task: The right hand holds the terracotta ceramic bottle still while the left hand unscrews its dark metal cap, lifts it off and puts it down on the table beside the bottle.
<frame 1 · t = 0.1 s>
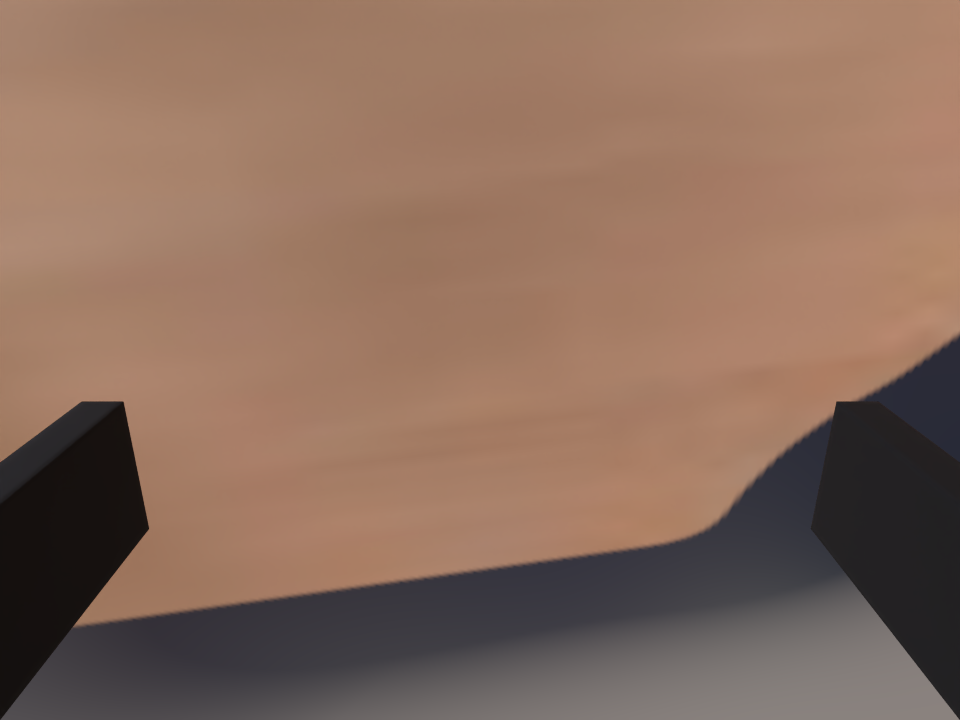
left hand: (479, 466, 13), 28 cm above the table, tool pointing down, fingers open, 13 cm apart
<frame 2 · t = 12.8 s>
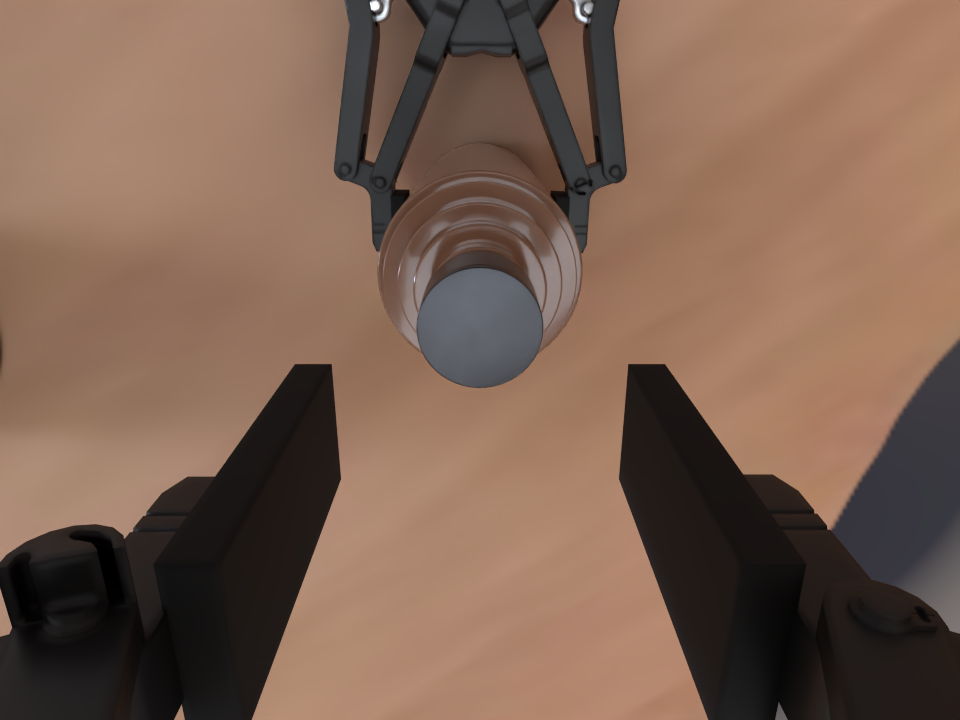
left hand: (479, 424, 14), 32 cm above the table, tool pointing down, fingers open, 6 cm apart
bottle: (479, 208, 44), on the table, touching right hand
cap: (479, 326, 21), point 25 cm above the table, screwed on, not yet turned
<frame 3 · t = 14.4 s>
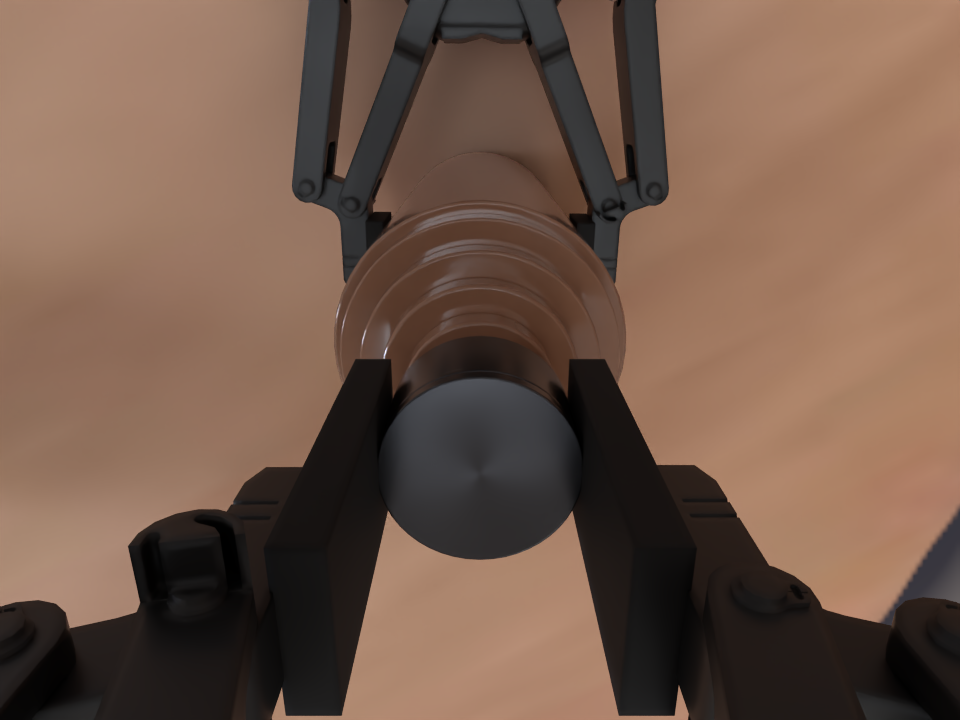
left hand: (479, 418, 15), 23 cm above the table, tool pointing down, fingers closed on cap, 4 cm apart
bottle: (480, 230, 36), on the table, touching right hand
cap: (480, 465, 13), point 25 cm above the table, screwed on, not yet turned, touching left hand
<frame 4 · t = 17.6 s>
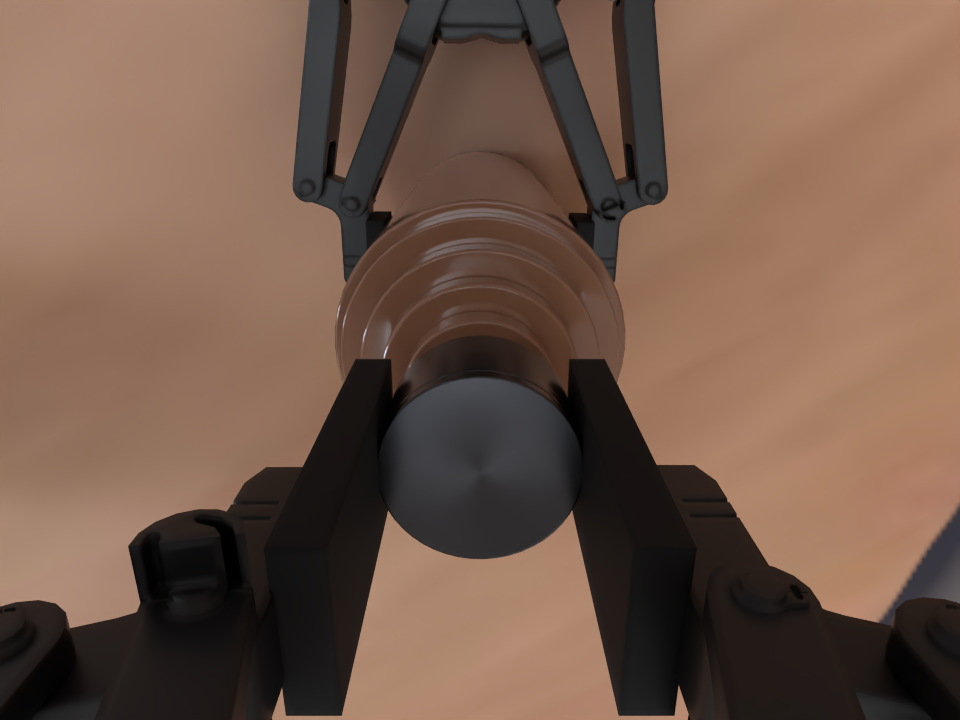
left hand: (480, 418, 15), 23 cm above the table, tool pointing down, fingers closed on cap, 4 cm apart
bottle: (479, 230, 37), on the table, touching right hand
cap: (480, 464, 13), point 25 cm above the table, turned 93° so far, risen 0.1 cm, still on its thread, touching left hand
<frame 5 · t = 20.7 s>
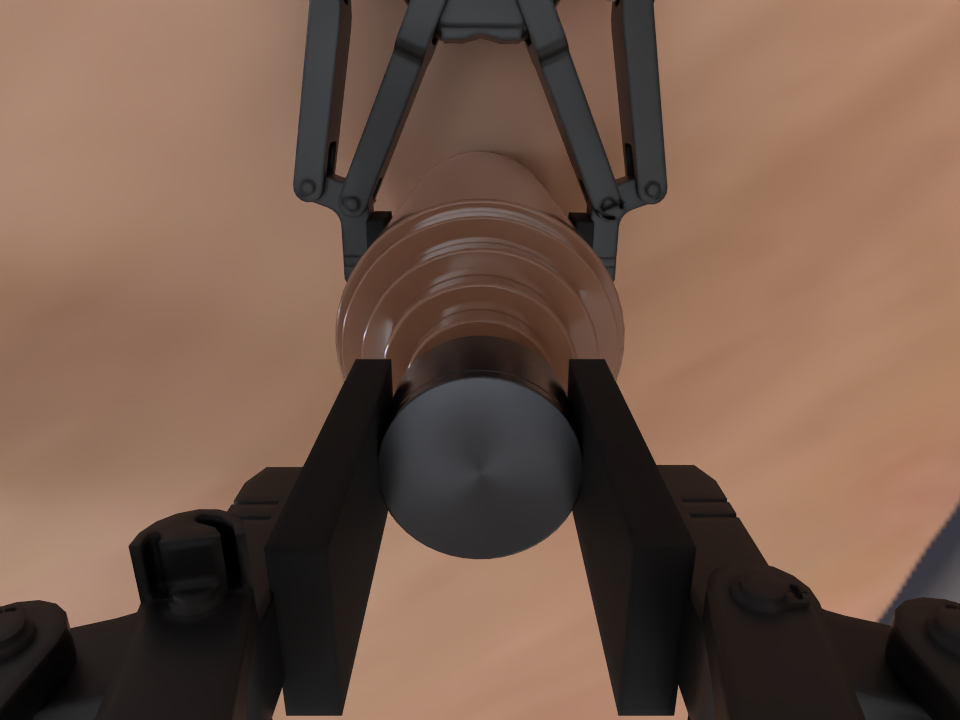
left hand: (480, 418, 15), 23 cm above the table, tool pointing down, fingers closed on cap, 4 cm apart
bottle: (479, 229, 37), on the table, touching right hand
cap: (480, 465, 13), point 25 cm above the table, turned 186° so far, risen 0.2 cm, still on its thread, touching left hand
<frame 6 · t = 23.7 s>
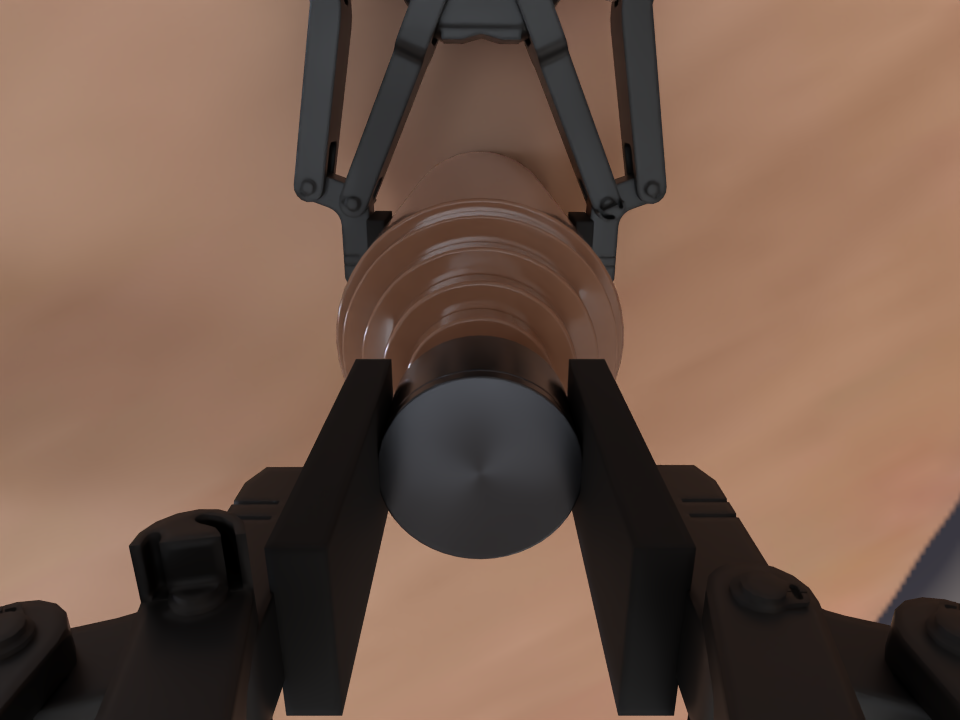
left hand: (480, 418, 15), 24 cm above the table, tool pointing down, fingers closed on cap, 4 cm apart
bottle: (479, 229, 37), on the table, touching right hand
cap: (480, 464, 13), point 26 cm above the table, turned 279° so far, risen 0.3 cm, still on its thread, touching left hand
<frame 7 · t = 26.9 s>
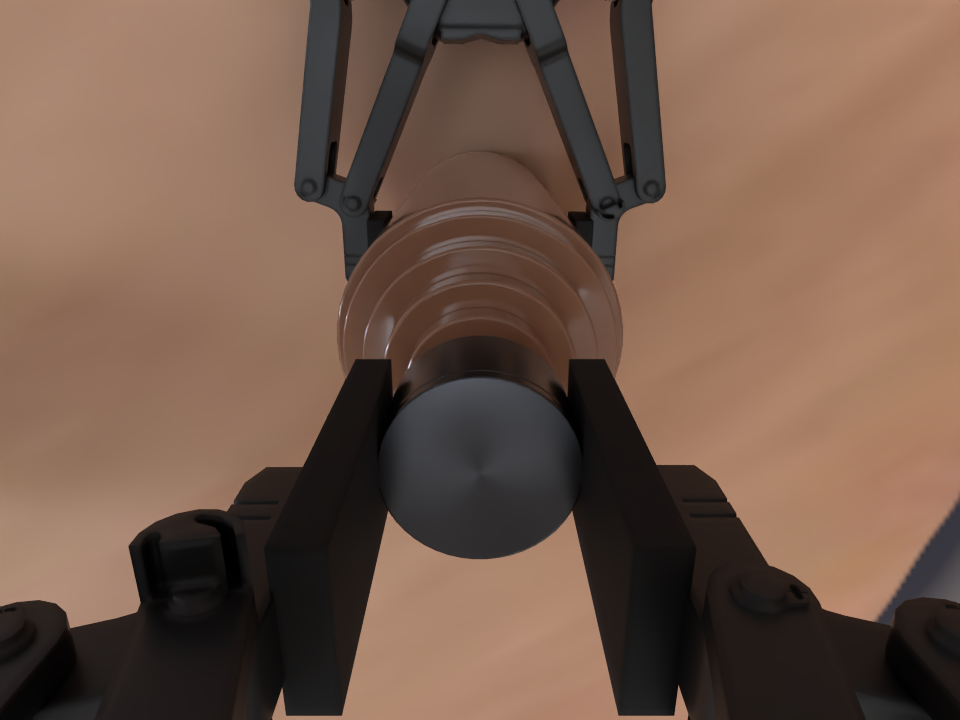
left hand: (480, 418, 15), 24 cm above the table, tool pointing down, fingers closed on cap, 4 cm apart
bottle: (479, 229, 37), on the table, touching right hand
cap: (480, 465, 13), point 26 cm above the table, turned 372° so far, risen 0.4 cm, still on its thread, touching left hand
when the left hand's fingers open (1 cm above the table, at t = 33.2 s): cap drops 2 cm, point 2 cm above the table.
when the right hand's fingers open (7 cm above the table, at t = 34.5 s): bottle stays where it is, on the table.
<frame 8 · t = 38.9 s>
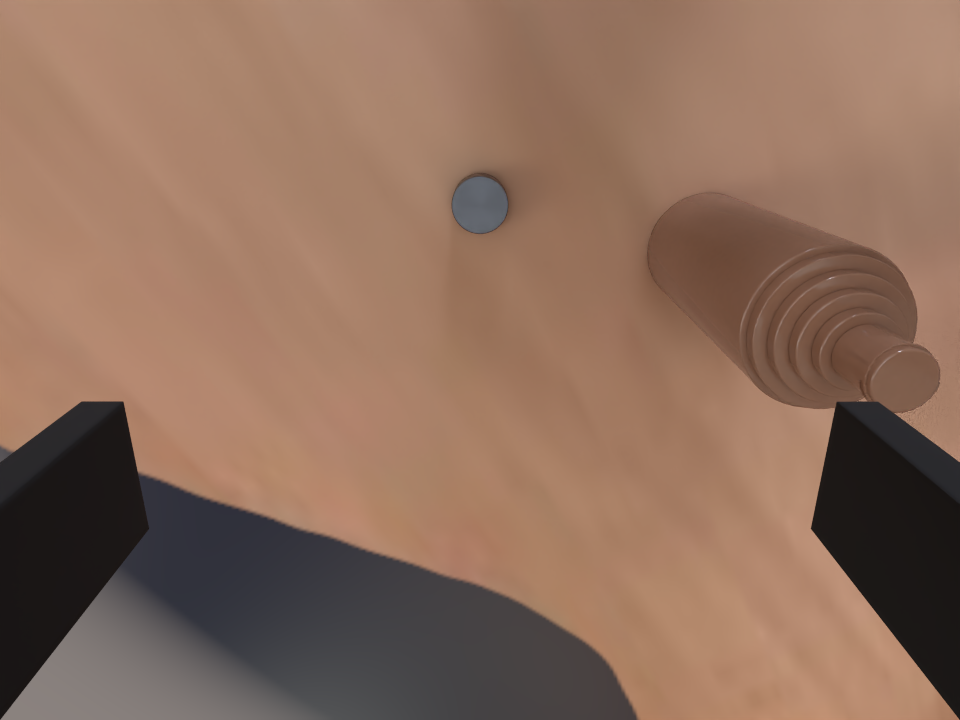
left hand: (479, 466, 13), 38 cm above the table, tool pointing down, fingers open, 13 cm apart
bottle: (703, 249, 50), on the table
cap: (479, 204, 46), point 2 cm above the table, off its thread
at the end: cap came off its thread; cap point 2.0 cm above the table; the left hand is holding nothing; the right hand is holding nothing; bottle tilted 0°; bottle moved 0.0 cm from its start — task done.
